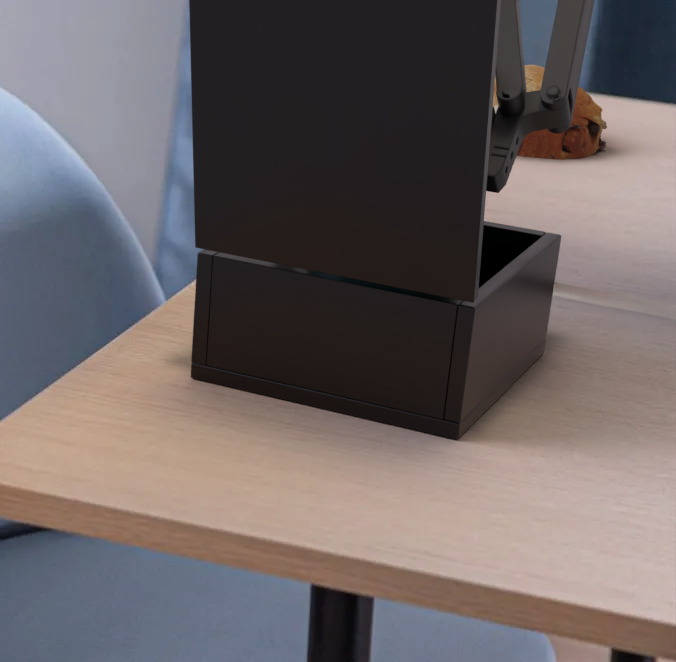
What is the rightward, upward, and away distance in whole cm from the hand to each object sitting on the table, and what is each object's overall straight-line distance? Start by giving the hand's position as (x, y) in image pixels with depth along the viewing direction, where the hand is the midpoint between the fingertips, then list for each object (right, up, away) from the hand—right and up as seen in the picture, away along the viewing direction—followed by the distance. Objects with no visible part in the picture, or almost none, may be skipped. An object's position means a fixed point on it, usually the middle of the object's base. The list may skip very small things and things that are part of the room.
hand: (361, 226), depth 82 cm
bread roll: (+18, +13, +47) cm, 52 cm away
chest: (+1, -6, +6) cm, 9 cm away
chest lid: (-2, +3, -6) cm, 7 cm away
